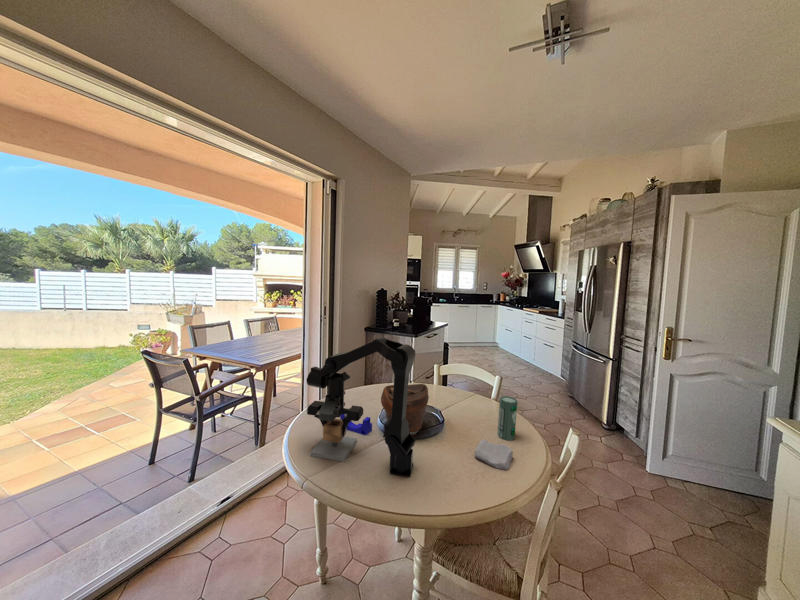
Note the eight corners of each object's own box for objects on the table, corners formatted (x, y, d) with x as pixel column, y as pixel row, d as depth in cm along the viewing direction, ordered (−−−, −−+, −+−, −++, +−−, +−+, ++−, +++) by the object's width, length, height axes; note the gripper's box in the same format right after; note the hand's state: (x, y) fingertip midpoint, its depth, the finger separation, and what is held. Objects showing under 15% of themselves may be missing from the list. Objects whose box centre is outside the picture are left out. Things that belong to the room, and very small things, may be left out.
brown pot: (370, 427, 121) (372, 384, 120) (406, 413, 135) (408, 374, 133) (399, 448, 108) (401, 399, 106) (436, 430, 121) (439, 387, 120)
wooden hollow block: (346, 433, 108) (346, 420, 107) (339, 442, 102) (339, 428, 101) (330, 431, 109) (330, 418, 108) (323, 440, 103) (323, 426, 102)
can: (516, 440, 116) (519, 402, 114) (500, 440, 116) (503, 402, 114) (510, 432, 122) (513, 396, 120) (495, 431, 122) (498, 395, 120)
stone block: (508, 477, 97) (513, 456, 105) (508, 465, 96) (513, 444, 104) (471, 466, 103) (479, 446, 111) (471, 454, 102) (479, 435, 110)
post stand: (356, 442, 110) (357, 423, 110) (344, 461, 99) (344, 441, 98) (326, 437, 113) (326, 419, 112) (310, 456, 101) (310, 436, 100)
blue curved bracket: (371, 430, 119) (372, 416, 119) (366, 436, 115) (366, 420, 115) (346, 423, 124) (347, 409, 124) (340, 428, 120) (340, 413, 120)
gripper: (298, 396, 98) (298, 442, 99) (353, 403, 94) (352, 451, 96) (314, 384, 109) (314, 426, 110) (364, 390, 105) (363, 433, 106)
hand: (334, 434), depth 105 cm, fingers closed on wooden hollow block, 6 cm apart
